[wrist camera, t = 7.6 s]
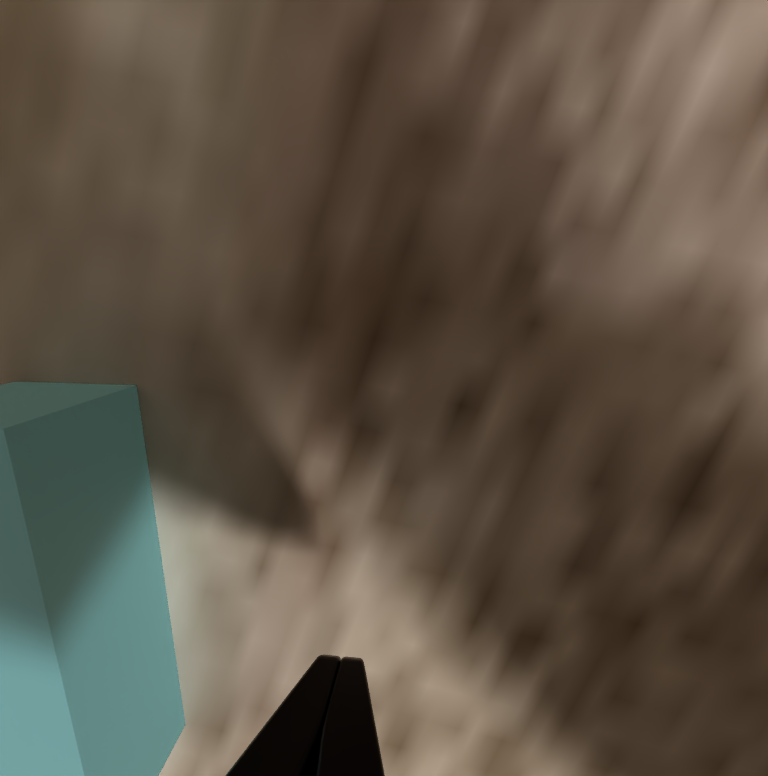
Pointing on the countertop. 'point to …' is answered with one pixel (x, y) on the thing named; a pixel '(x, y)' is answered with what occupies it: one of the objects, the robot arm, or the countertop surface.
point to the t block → (81, 588)
